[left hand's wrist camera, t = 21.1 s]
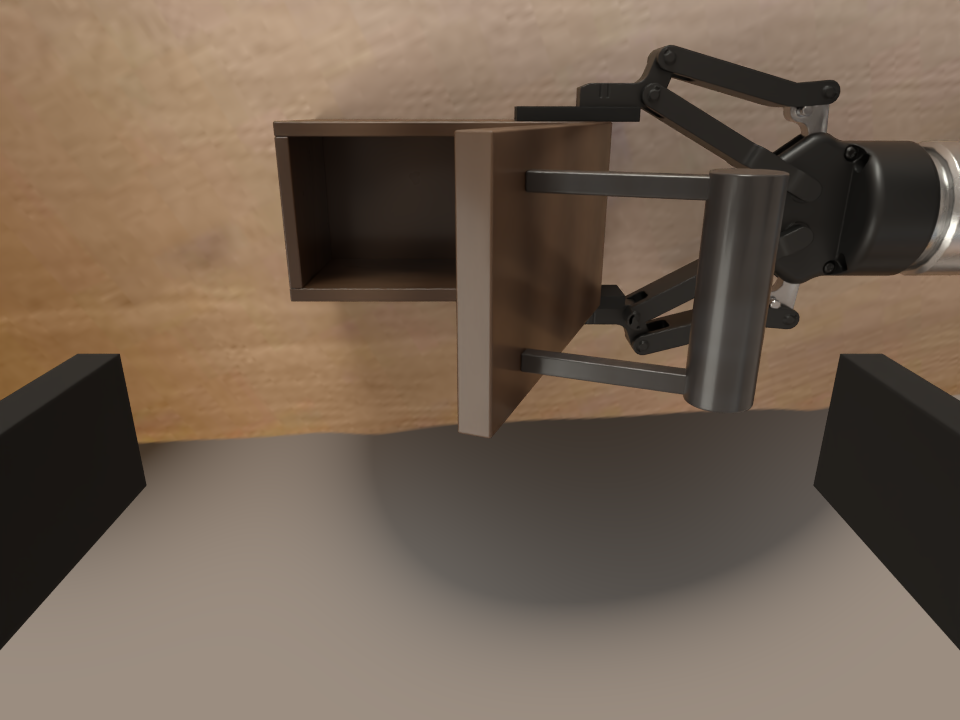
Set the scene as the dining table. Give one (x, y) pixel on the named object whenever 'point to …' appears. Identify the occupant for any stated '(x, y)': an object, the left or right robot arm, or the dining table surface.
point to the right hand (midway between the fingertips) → (514, 209)
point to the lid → (595, 269)
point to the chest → (371, 206)
